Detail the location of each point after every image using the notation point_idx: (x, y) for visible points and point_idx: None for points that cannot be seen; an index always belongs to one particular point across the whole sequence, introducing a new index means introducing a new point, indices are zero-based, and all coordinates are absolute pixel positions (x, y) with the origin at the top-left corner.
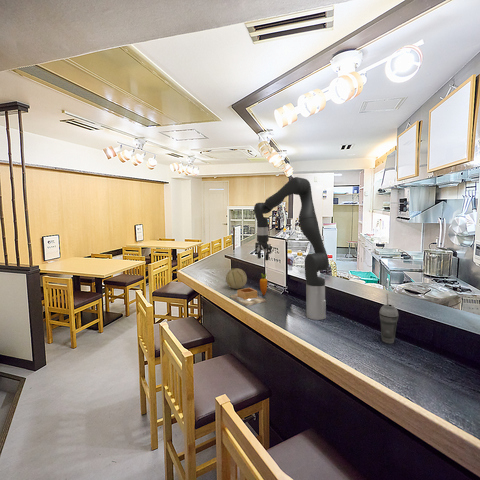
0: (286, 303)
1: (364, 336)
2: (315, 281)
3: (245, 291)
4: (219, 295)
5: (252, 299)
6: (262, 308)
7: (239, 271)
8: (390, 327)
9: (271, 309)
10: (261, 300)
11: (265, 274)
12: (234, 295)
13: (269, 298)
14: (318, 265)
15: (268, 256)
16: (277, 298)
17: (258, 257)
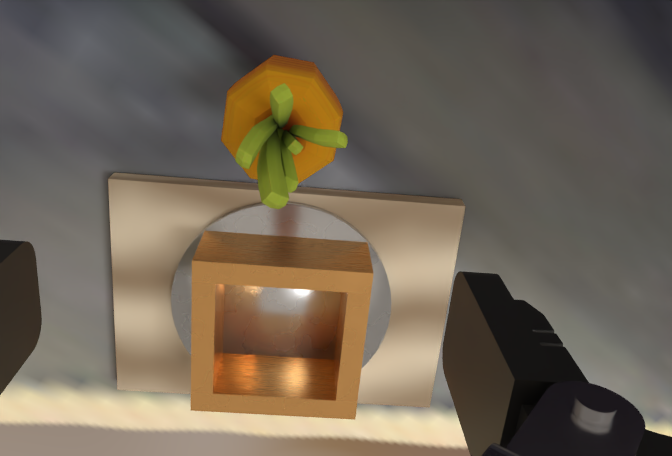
0: (656, 68)
1: None
2: None
3: (218, 311)
4: (12, 421)
5: (389, 318)
6: (568, 329)
7: None
8: None
9: (643, 288)
10: (451, 251)
11: (284, 110)
12: (144, 359)
13: (410, 99)
14: None
15: (572, 374)
16: (474, 26)
17: (25, 349)
